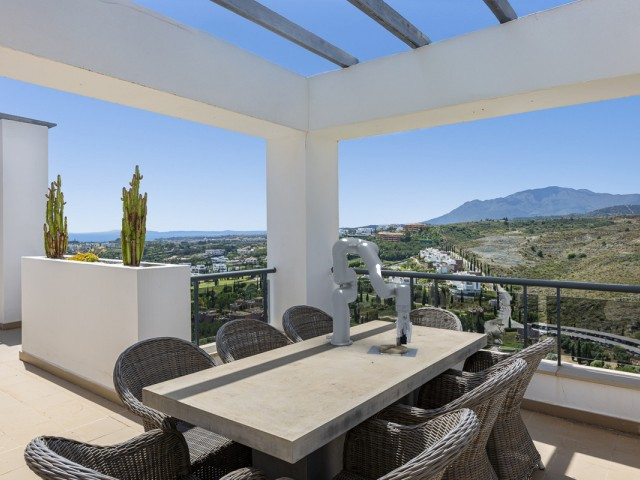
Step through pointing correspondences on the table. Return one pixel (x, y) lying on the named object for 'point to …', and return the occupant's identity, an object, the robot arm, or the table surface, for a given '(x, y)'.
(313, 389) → the table surface
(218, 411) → the table surface
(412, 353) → the blue-grey base board
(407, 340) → the cup
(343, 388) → the table surface
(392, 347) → the crank wheel
